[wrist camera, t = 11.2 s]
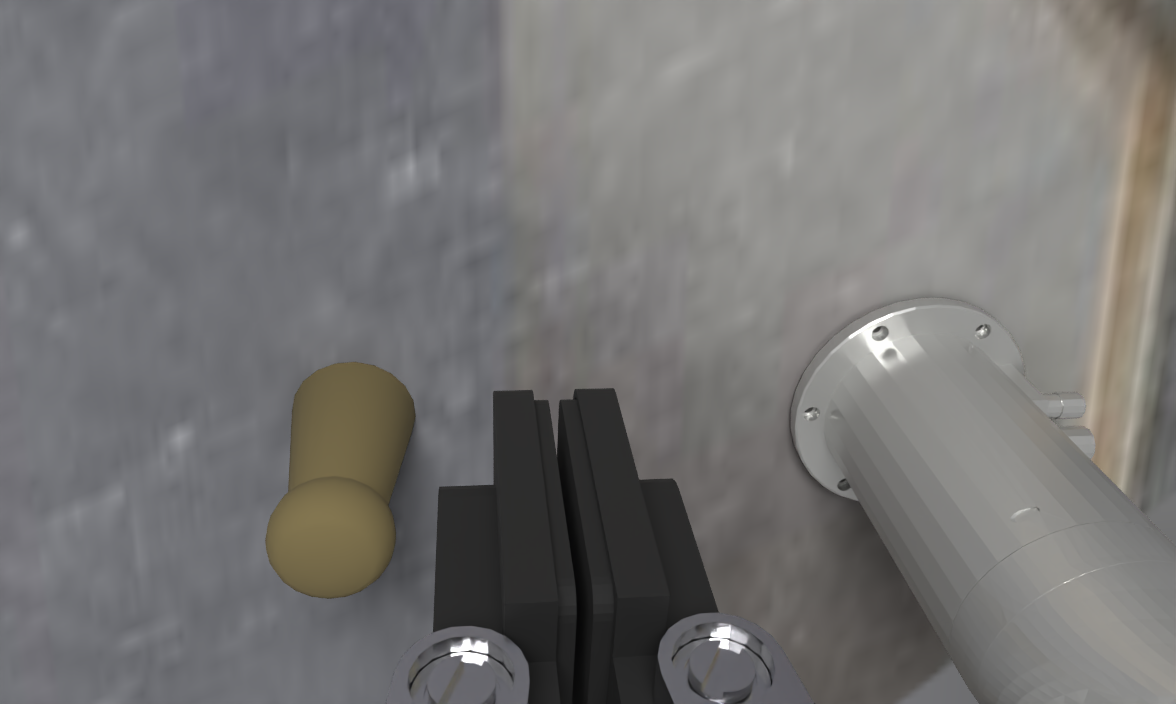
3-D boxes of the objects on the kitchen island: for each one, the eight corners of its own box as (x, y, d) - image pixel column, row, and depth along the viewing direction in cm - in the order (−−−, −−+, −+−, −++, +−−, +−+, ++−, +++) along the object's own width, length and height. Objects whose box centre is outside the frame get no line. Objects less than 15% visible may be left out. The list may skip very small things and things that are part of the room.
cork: (274, 377, 44) (223, 527, 35) (396, 350, 44) (378, 492, 35) (315, 473, 47) (279, 635, 38) (429, 447, 47) (421, 603, 38)
